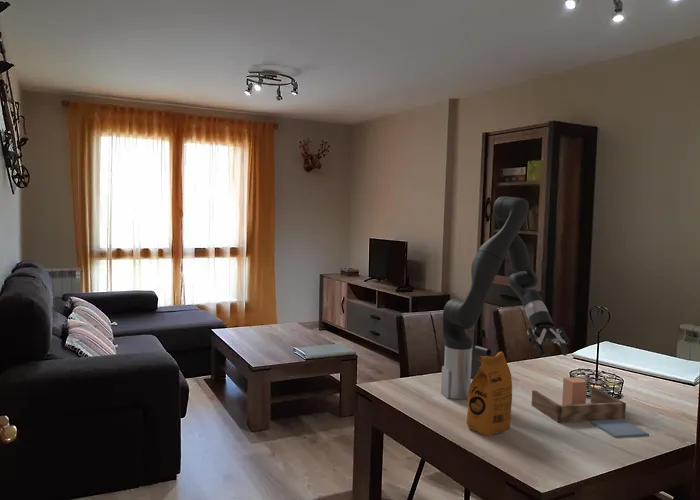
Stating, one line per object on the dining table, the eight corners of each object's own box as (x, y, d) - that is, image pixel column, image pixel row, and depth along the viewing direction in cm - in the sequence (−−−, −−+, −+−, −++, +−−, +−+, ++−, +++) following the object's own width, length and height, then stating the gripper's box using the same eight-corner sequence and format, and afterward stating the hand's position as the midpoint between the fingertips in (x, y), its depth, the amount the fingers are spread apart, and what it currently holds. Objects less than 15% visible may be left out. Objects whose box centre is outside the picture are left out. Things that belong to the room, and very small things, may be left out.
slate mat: (615, 437, 148) (615, 435, 148) (590, 422, 158) (590, 420, 158) (648, 435, 150) (648, 433, 150) (621, 420, 161) (621, 418, 161)
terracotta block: (571, 413, 166) (572, 382, 165) (561, 407, 171) (563, 377, 170) (585, 412, 167) (586, 382, 166) (575, 406, 172) (577, 377, 171)
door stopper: (483, 373, 206) (484, 344, 205) (495, 378, 201) (496, 347, 200) (467, 377, 201) (468, 346, 200) (479, 381, 196) (480, 350, 195)
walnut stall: (557, 422, 158) (558, 406, 157) (531, 405, 172) (532, 390, 172) (624, 418, 162) (625, 403, 162) (593, 402, 177) (594, 387, 176)
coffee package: (460, 426, 153) (463, 353, 151) (488, 418, 160) (491, 347, 159) (487, 439, 145) (491, 361, 143) (515, 429, 152) (519, 355, 150)
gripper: (524, 310, 186) (541, 350, 175) (560, 309, 189) (578, 348, 178) (516, 322, 191) (531, 361, 181) (551, 321, 194) (568, 359, 184)
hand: (555, 355), depth 179 cm, fingers open, 8 cm apart
